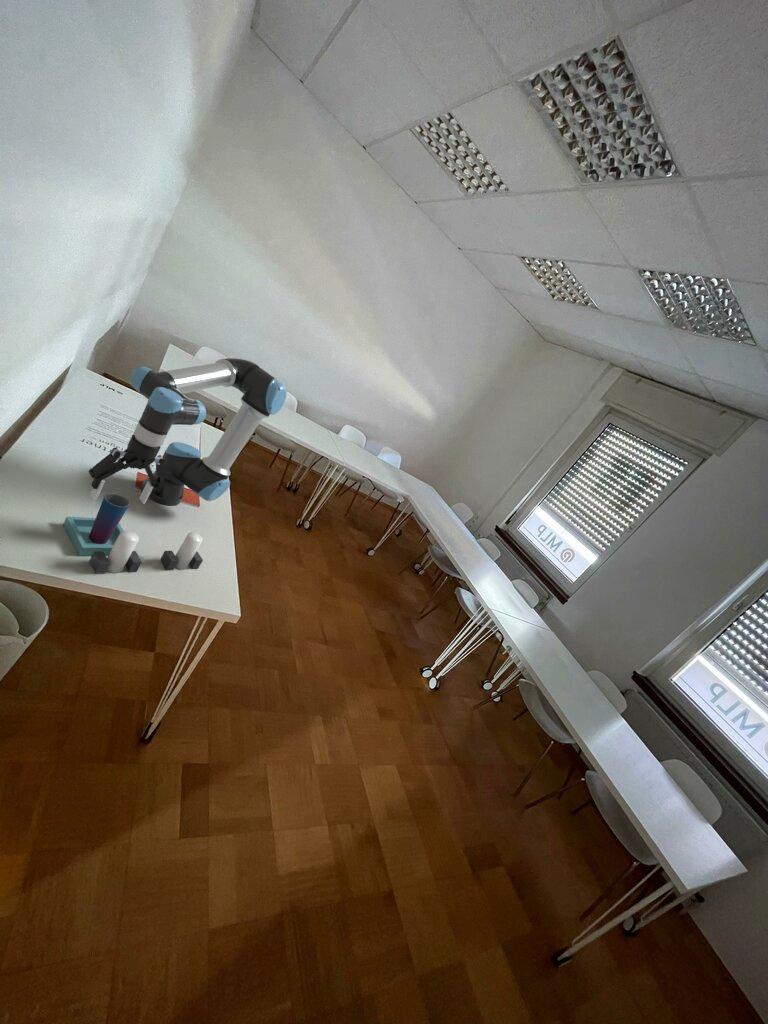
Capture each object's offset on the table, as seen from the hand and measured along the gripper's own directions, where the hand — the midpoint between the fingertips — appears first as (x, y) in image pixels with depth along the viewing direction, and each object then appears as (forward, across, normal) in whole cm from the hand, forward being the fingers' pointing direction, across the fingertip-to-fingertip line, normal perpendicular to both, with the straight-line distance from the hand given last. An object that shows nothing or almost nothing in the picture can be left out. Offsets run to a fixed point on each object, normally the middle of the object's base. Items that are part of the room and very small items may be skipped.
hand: (118, 499), depth 124 cm
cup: (+15, +1, 0) cm, 15 cm away
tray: (+16, +1, 0) cm, 16 cm away
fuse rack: (+16, -10, +12) cm, 23 cm away
